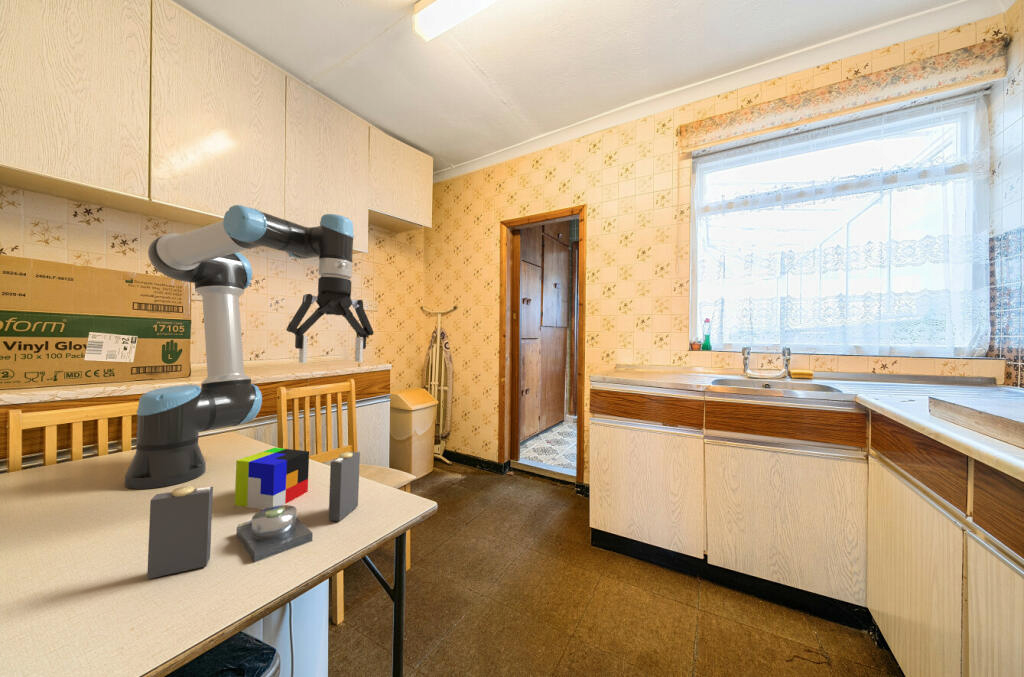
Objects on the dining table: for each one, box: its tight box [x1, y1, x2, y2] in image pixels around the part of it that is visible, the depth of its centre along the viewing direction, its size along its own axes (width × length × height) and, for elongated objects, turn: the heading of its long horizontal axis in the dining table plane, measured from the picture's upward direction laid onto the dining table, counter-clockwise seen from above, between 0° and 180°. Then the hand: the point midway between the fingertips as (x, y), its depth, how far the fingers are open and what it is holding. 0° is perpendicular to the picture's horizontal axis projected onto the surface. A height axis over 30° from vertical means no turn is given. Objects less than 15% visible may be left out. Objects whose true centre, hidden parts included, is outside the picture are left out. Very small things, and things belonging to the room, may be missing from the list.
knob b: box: [328, 451, 361, 522], centre depth 77 cm, size 7×3×13 cm, turn 173°
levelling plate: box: [235, 504, 313, 563], centre depth 67 cm, size 12×9×5 cm
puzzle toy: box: [234, 447, 310, 510], centre depth 83 cm, size 10×10×10 cm
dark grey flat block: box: [146, 485, 214, 580], centre depth 57 cm, size 7×3×13 cm, turn 119°
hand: (332, 362), depth 90 cm, fingers open, 13 cm apart
